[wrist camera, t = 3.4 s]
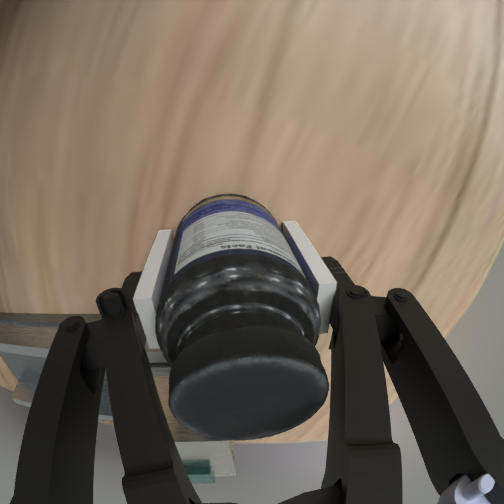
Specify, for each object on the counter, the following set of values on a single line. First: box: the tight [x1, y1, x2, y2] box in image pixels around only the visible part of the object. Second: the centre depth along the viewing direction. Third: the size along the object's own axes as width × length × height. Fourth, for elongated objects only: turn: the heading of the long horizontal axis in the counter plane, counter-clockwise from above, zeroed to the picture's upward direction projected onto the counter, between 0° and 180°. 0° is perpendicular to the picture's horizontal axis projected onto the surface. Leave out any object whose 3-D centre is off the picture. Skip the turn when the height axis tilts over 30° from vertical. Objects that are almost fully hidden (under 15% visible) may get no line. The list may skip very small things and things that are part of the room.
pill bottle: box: [155, 194, 329, 440], centre depth 12 cm, size 6×6×11 cm
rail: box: [0, 313, 237, 483], centre depth 16 cm, size 10×26×10 cm, turn 91°
